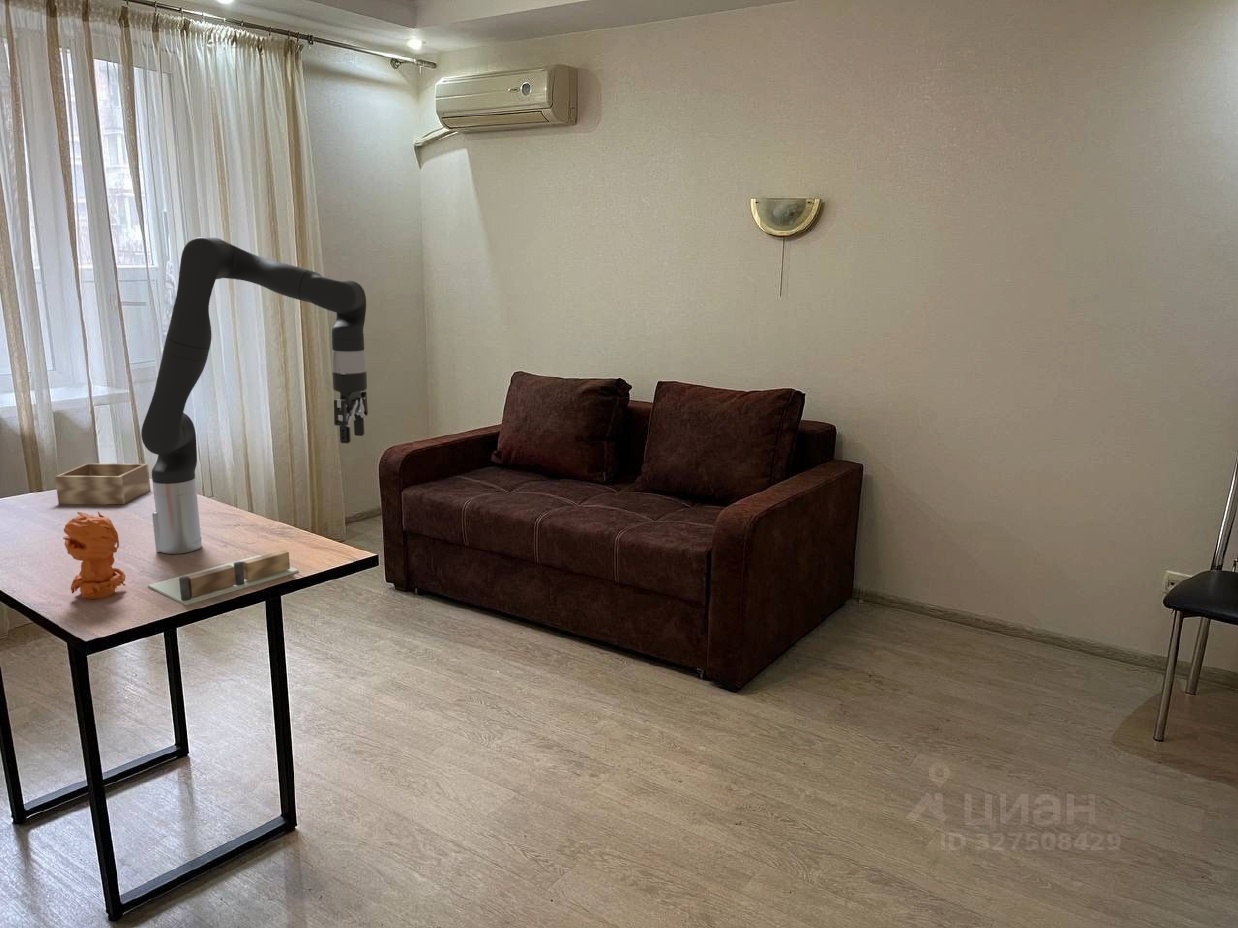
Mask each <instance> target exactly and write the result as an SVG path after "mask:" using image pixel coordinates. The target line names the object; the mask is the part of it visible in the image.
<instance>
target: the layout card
mask: <svg viewBox="0 0 1238 928" xmlns="http://www.w3.org/2000/svg"><path fill="white" fill-rule="evenodd" d="M260 556H262V554H261V555H260V554H257V555H254V556H251V557H247V558H243V559H240V560H235V561H231V562H227V563H225V564H221V565H217V566H213V567H211V568H210V567H208V568H206V569H203V570H199V571H195V572H191V573H187V574H183V575H181V576H176V577H172V578H169V579H166V580H163V581H158V582H153V583H150V584H147V587H148V589H151V590H153V591H155V592H157V593H160V595H164V596H166V597H167V598H170V599H172V600H174V601H176V602H178V603H180V604H182V605H185V606H188V605H189V606H190V605H191V604H195V603H199V602H201V601H205V600H209V599H211V598H216V597H219V596H222V595H226V594H228V593H229V594H230V593H232V592H235V591H240V590H242V589H246V588H250V587H253V586H255V585H259V584H263V583H265V582H270V581H273V580H277V579H280V578H283V577H286V576H290V575H293V574H296V573H299V572H300V571H299V569H298V568H295V567H292V566H290V569H288V570H285V571H281V572H278V573H274V574H271V575H268V576H264V577H261V578H257V579H254V580H250V581H248V580H245V579H244V584H242V585H233V586H230V587H226V588H223V589H219V590H216V591H213V592H209V593H206V594H202V595H199V596H195V597H191V599H190V600H187V601H182V600H181V592H180V582H179V578H180V577H182V576H191V575H194V574H198V573H202V572H205V571H209V570H213V569H216V568H220V567H224V566H227V565H231V566H233V567H234V563H235V562H239V561H241V562H242V561H246V560H249V559H253V558H257V557H260Z"/></svg>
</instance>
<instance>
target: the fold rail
mask: <svg viewBox="0 0 1238 928" xmlns="http://www.w3.org/2000/svg"><path fill="white" fill-rule="evenodd" d="M242 562H243V571H244V579H245V580H248V581H250V580H254V579H257V578H261V577H264V576H268V575H271V574H274V573H278V572H281V571H285V570H288V569H290V567H291V565H290V552H289V551H287V550H284V549H283V550H279V551H276V552H273V553H269V554H264V555H261V556H260V557H257V558H253V559H249V560H246V561H242Z"/></svg>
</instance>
